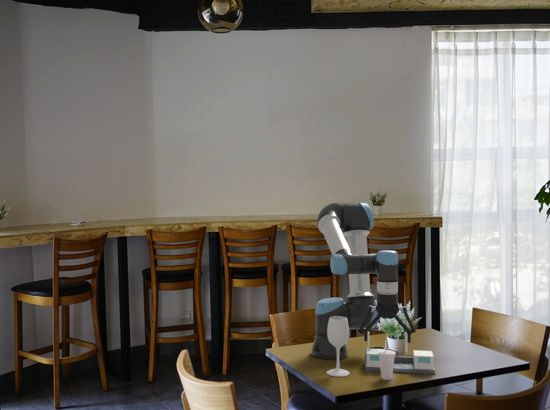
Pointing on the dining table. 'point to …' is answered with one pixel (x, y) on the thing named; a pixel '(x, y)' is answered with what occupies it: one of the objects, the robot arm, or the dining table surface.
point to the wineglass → (338, 340)
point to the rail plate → (402, 366)
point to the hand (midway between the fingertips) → (387, 351)
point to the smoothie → (386, 363)
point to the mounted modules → (419, 359)
